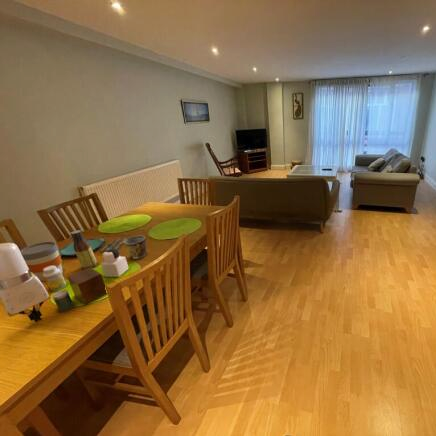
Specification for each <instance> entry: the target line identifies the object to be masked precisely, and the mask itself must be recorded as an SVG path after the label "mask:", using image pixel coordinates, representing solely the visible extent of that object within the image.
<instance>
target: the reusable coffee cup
mask: <svg viewBox="0 0 436 436" xmlns="http://www.w3.org/2000/svg"><path fill="white" fill-rule="evenodd" d="M19 250H20V252H21V254H22V256H23V258H24V260H25V262H26V264H27V266H28V268H29V270H30V272H31V274H33V275H35V276H37V277H38V279H39V280H40V281H41V282H44V281H45V279H44V277H43V274H44V271H43V269H44V268H46V267H48V266H56V268H57V269H60V271H61V273H62V274H63V273H64V271H63V266H62V263H63V262H62V257H61V256H62V255H61V256H60V253H59V247H58V245H57V243H56V242H55V241H44V242H39V243H34V244H31V245H28V246H26V247H23V248H22V249H19ZM45 282H46V281H45Z"/></svg>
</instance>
